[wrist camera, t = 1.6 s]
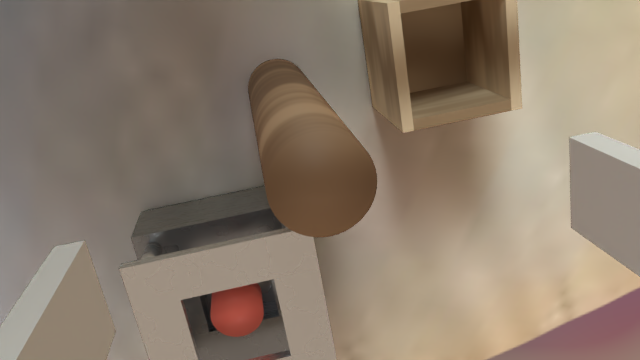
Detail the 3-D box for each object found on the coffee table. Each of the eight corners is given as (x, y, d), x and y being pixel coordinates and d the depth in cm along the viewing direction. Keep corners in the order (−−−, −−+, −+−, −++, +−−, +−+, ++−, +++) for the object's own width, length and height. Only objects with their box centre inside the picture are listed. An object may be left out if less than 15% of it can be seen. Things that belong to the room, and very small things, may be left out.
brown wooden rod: (242, 65, 34) (255, 143, 18) (301, 53, 35) (368, 120, 18) (254, 122, 36) (277, 247, 19) (311, 111, 36) (383, 224, 19)
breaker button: (206, 280, 34) (205, 297, 32) (256, 268, 34) (257, 285, 32) (217, 322, 35) (217, 342, 33) (266, 311, 35) (268, 330, 33)
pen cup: (357, -1, 34) (387, 3, 28) (463, -21, 35) (516, -21, 28) (372, 106, 36) (403, 133, 30) (471, 86, 37) (521, 108, 31)
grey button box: (141, 211, 36) (119, 269, 29) (295, 179, 37) (311, 227, 30) (180, 342, 40) (169, 422, 33) (320, 309, 41) (341, 381, 33)
